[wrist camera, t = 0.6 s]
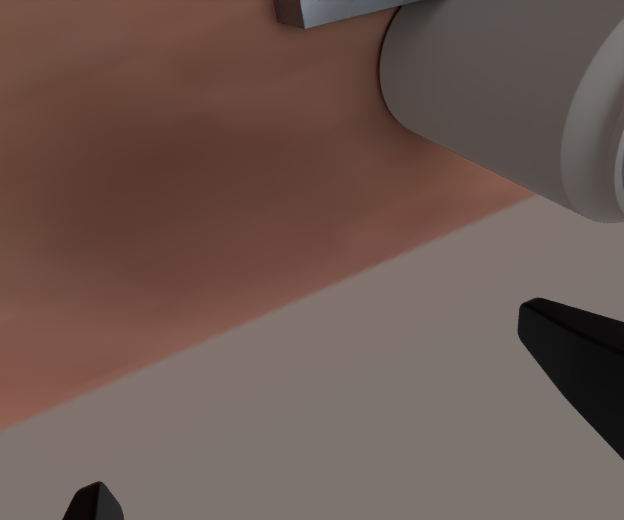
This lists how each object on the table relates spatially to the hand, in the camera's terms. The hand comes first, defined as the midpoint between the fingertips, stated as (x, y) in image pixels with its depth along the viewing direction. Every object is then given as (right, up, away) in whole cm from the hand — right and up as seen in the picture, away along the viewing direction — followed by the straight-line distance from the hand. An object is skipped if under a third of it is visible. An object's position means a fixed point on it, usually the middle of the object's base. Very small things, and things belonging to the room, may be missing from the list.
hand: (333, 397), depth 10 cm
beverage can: (+5, +12, +12) cm, 17 cm away
